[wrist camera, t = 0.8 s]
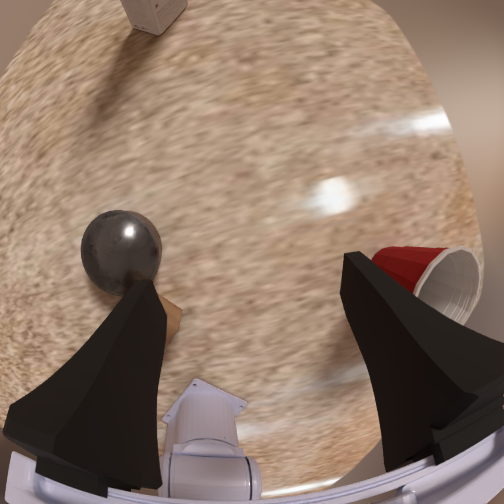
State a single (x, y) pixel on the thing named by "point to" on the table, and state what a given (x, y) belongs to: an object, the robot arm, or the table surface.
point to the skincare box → (153, 13)
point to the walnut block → (171, 318)
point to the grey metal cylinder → (120, 250)
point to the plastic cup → (436, 276)
